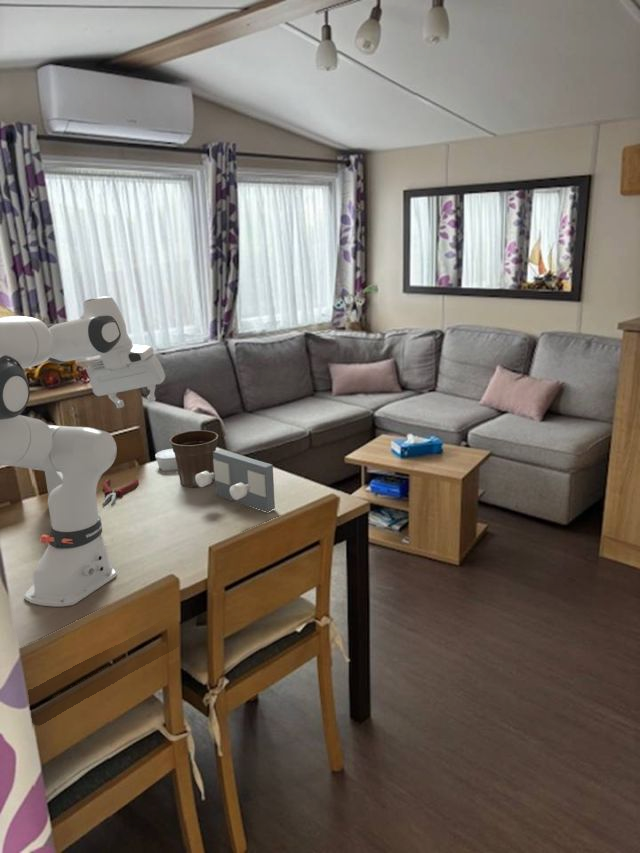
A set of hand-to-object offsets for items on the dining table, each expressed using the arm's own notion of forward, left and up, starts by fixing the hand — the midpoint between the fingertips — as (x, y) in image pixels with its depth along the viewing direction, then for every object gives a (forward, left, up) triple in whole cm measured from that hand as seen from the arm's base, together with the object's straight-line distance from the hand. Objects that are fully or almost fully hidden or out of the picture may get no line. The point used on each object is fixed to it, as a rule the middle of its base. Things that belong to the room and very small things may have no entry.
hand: (136, 404), depth 173 cm
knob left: (+21, -9, -31) cm, 39 cm away
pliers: (+23, +27, -39) cm, 53 cm away
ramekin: (+50, +19, -38) cm, 66 cm away
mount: (+24, -19, -38) cm, 49 cm away
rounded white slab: (+2, +29, -38) cm, 48 cm away
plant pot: (+38, +3, -38) cm, 54 cm away
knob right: (+14, -23, -31) cm, 41 cm away
